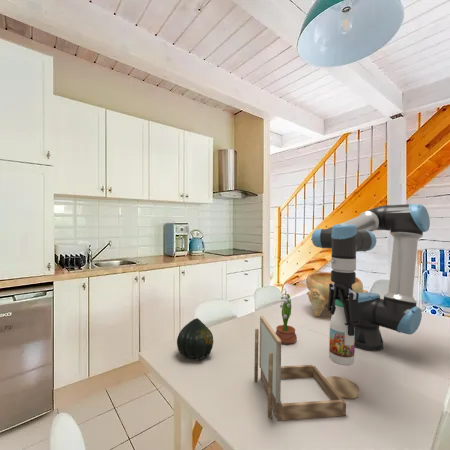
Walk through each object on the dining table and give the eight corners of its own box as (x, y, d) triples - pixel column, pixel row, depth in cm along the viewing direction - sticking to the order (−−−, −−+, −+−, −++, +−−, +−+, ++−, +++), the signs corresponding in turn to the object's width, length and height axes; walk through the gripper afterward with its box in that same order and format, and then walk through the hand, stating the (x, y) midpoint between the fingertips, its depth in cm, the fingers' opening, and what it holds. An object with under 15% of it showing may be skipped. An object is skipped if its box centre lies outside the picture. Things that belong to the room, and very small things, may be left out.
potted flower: (297, 348, 117) (298, 291, 117) (274, 346, 119) (275, 290, 119) (295, 337, 128) (296, 285, 128) (274, 335, 130) (275, 284, 130)
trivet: (347, 378, 95) (347, 375, 95) (367, 398, 84) (367, 395, 84) (317, 379, 93) (317, 376, 93) (334, 400, 82) (334, 397, 82)
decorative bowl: (290, 306, 176) (291, 272, 176) (335, 303, 185) (336, 270, 185) (322, 326, 143) (323, 283, 143) (375, 320, 152) (375, 280, 152)
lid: (262, 366, 94) (262, 316, 94) (280, 404, 74) (281, 341, 74) (259, 366, 93) (260, 316, 93) (276, 405, 74) (277, 341, 74)
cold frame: (314, 375, 96) (314, 363, 96) (346, 415, 76) (346, 399, 76) (260, 378, 94) (260, 365, 94) (278, 420, 74) (278, 404, 74)
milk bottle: (324, 354, 92) (326, 297, 92) (346, 354, 93) (347, 297, 92) (336, 366, 84) (337, 304, 84) (359, 366, 85) (360, 303, 85)
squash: (188, 356, 97) (207, 318, 105) (164, 345, 108) (183, 311, 115) (209, 371, 105) (225, 335, 113) (185, 359, 115) (202, 326, 123)
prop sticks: (257, 380, 93) (258, 328, 92) (272, 418, 74) (273, 354, 74) (253, 380, 92) (254, 328, 92) (268, 418, 74) (269, 354, 74)
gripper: (318, 265, 98) (317, 327, 98) (350, 276, 78) (349, 354, 78) (337, 265, 99) (336, 326, 99) (374, 276, 79) (372, 353, 79)
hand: (341, 338), depth 88 cm, fingers closed on milk bottle, 8 cm apart
